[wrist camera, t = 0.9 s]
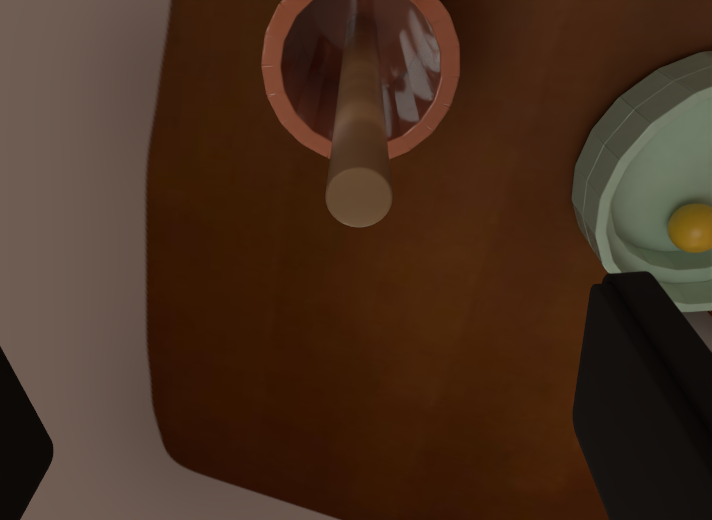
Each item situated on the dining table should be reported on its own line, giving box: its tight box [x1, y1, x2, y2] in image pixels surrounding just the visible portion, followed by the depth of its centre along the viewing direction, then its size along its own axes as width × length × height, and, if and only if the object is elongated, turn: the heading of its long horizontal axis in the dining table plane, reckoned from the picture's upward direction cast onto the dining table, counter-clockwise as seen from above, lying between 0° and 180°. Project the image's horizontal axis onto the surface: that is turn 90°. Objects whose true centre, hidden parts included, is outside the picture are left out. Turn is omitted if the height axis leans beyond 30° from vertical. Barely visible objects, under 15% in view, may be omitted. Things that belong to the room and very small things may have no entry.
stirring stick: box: [325, 13, 392, 227], centre depth 22 cm, size 2×2×20 cm
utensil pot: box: [261, 0, 460, 159], centre depth 27 cm, size 8×8×9 cm
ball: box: [667, 203, 712, 253], centre depth 35 cm, size 3×3×3 cm
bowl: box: [572, 51, 712, 312], centre depth 33 cm, size 14×14×5 cm
